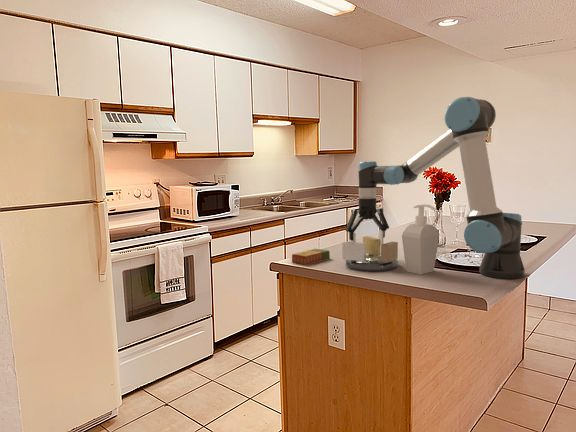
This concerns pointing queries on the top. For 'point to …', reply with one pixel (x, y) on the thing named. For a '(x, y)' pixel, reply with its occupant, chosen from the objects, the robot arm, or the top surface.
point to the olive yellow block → (372, 245)
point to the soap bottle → (420, 244)
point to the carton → (310, 256)
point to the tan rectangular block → (389, 252)
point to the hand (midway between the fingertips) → (367, 246)
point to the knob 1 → (354, 251)
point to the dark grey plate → (372, 264)
